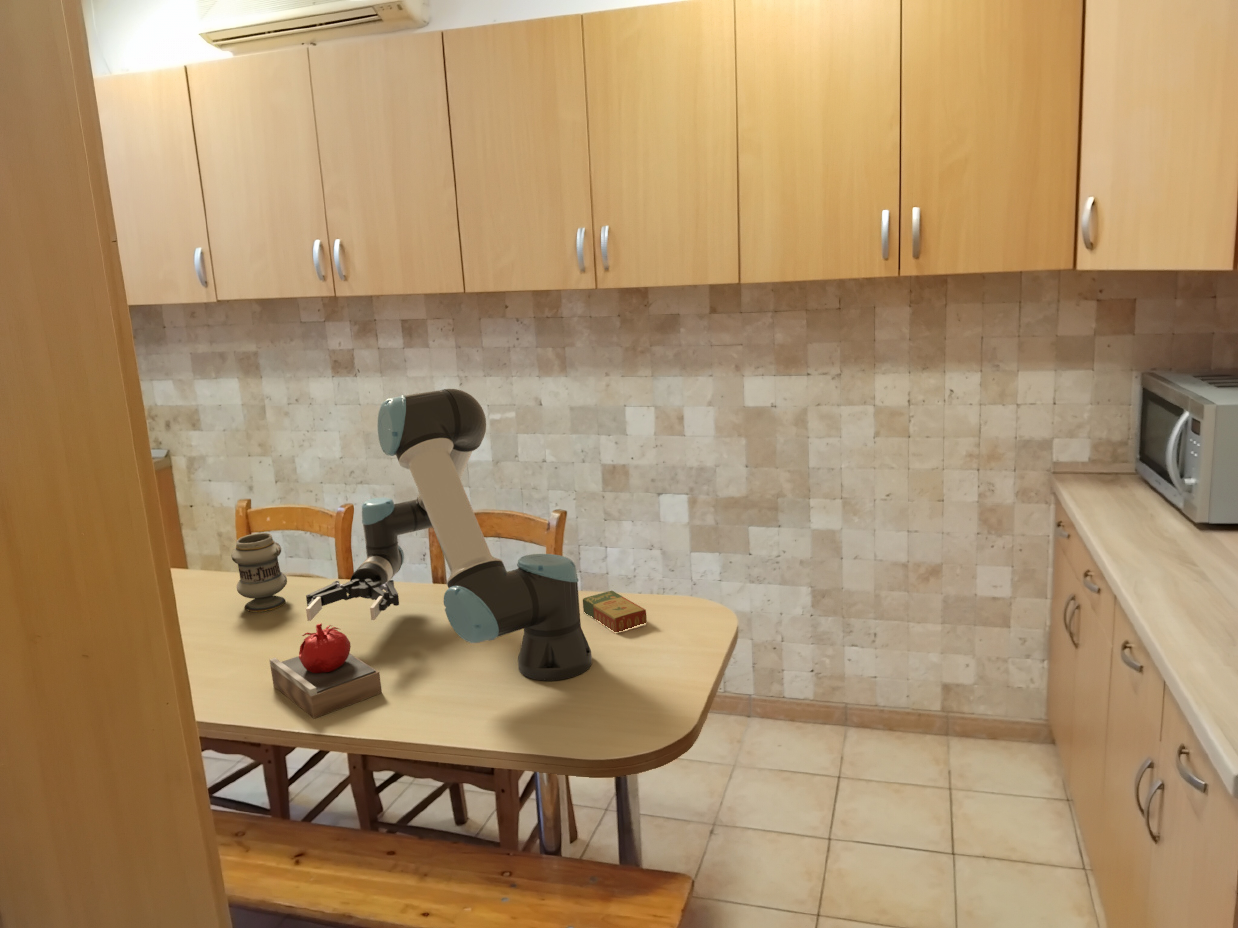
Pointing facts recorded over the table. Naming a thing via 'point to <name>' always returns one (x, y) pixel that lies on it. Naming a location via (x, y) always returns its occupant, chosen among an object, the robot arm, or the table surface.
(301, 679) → the tray
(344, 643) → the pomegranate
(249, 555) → the apothecary jar
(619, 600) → the carton
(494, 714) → the table surface
